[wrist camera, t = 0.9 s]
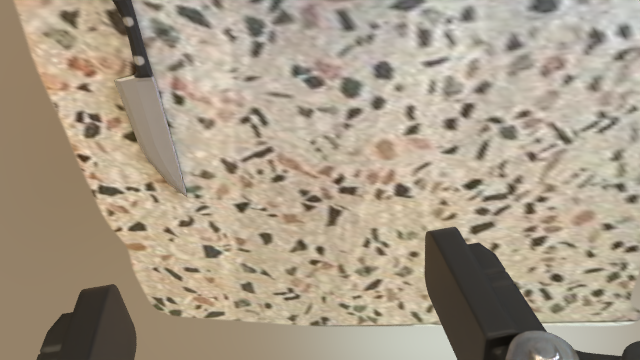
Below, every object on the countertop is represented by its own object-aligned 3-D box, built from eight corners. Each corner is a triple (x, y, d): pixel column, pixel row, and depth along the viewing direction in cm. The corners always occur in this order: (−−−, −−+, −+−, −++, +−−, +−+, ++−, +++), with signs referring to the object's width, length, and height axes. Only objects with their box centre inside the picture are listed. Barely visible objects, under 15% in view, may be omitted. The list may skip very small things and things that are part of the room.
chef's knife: (155, 195, 46) (188, 195, 46) (151, 204, 45) (185, 204, 45) (84, -21, 34) (129, -21, 33) (77, -14, 33) (123, -15, 33)
